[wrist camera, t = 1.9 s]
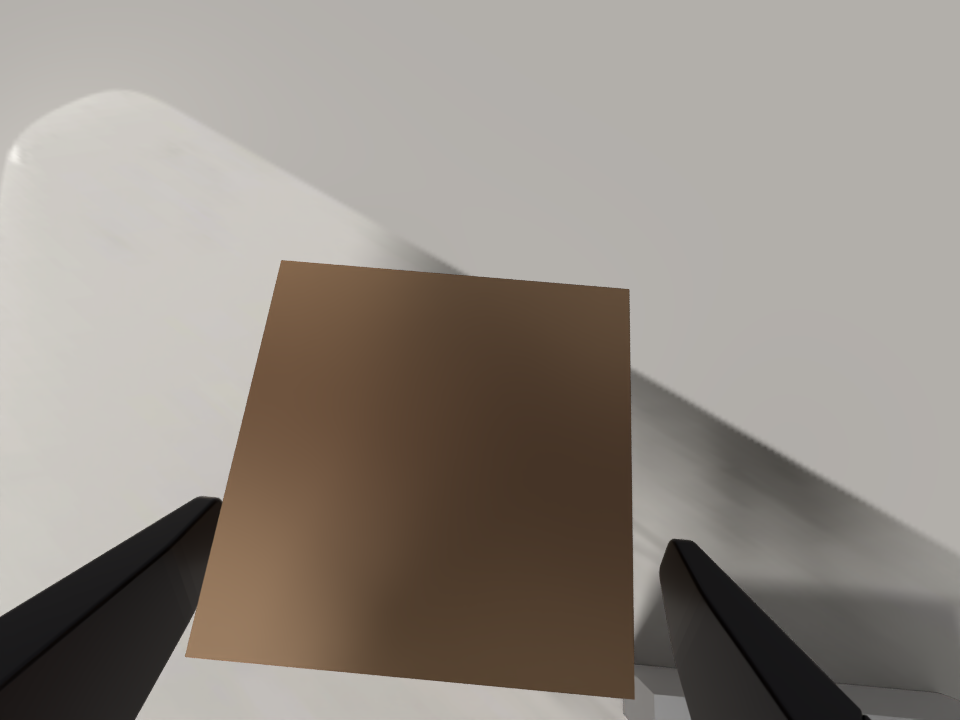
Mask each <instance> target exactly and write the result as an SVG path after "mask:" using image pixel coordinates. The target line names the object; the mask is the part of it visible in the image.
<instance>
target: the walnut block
mask: <svg viewBox="0 0 960 720" xmlns="http://www.w3.org/2000/svg"><path fill="white" fill-rule="evenodd" d="M629 305H630V304H629V289H621V288H609V287H608V288H607V287H597V286H584V285H572V284H560V283H549V282H537V281H525V280H513V279H500V278H489V277H477V276H465V275H452V274H440V273H428V272H416V271H404V270H392V269H380V268H368V267H356V266H344V265H332V264H320V263H308V262H296V261H284V260H281V264H280V268H279V272H278V276H277V280H276V284H275V289H274V293H273V297H272V301H271V305H270V309H269V313H268V317H267V321H266V326H265V330H264V334H263V338H262V342H261V346H260V350H259V354H258V358H257V363H256V367H255V371H254V375H253V379H252V383H251V387H250V391H249V395H248V399H247V404H246V408H245V412H244V416H243V420H242V424H241V428H240V432H239V436H238V441H237V445H236V449H235V453H234V457H233V461H232V465H231V469H230V473H229V478H228V482H227V486H226V490H225V494H224V498H223V502H222V506H221V510H220V515H219V519H218V523H217V527H216V531H215V535H214V539H213V543H212V547H211V552H210V556H209V560H208V564H207V568H206V572H205V576H204V580H203V584H202V588H201V593H200V597H199V601H198V605H197V609H196V613H195V617H194V621H193V625H192V630H191V634H190V638H189V642H188V646H187V650H186V654H185V657H191V658H201V659H212V660H222V661H233V662H243V663H254V664H264V665H275V666H285V667H296V668H306V669H317V670H327V671H338V672H348V673H359V674H369V675H380V676H390V677H401V678H411V679H422V680H433V681H443V682H454V683H464V684H475V685H485V686H496V687H506V688H517V689H527V690H538V691H548V692H559V693H569V694H580V695H590V696H601V697H611V698H622V699H632V700H635V682H634V607H633V531H632V456H631V380H630V312H629V311H630V308H629V307H630V306H629Z"/></svg>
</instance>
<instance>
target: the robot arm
mask: <svg viewBox="0 0 960 720" xmlns="http://www.w3.org/2000/svg"><path fill="white" fill-rule="evenodd" d="M221 506H222V500H221V499H220V498H217V497H206V496H200V497H197V498H195V499H193V500H191V501H190V502H188V503H186V504H185V505H183V506H181V507H180V508H178V509H176V510H175V511H173V512H171V513H170V514H168V515H167V516H165V517H163V518H162V519H160V520H158V521H157V522H155V523H153V524H152V525H150V526H148V527H147V528H145V529H144V530H142V531H140V532H139V533H137V534H135V535H134V536H132V537H130V538H129V539H127V540H125V541H124V542H122V543H121V544H119V545H117V546H116V547H114V548H112V549H111V550H109V551H107V552H106V553H104V554H102V555H101V556H99V557H98V558H96V559H94V560H93V561H91V562H89V563H88V564H86V565H84V566H83V567H81V568H79V569H78V570H76V571H75V572H73V573H71V574H70V575H68V576H66V577H65V578H63V579H61V580H60V581H58V582H56V583H55V584H53V585H52V586H50V587H48V588H47V589H45V590H43V591H42V592H40V593H38V594H37V595H35V596H33V597H32V598H30V599H29V600H27V601H25V602H24V603H22V604H20V605H19V606H17V607H15V608H14V609H12V610H10V611H9V612H7V613H6V614H4V615H2V616H1V617H0V720H135V719H136V717H137V715H138V713H139V712H140V710H141V708H142V706H143V704H144V703H145V701H146V699H147V697H148V695H149V694H150V692H151V690H152V688H153V686H154V685H155V683H156V681H157V679H158V677H159V676H160V674H161V672H162V670H163V668H164V667H165V665H166V663H167V661H168V660H169V658H170V656H171V654H172V652H173V651H174V649H175V647H176V645H177V643H178V642H179V640H180V638H181V636H182V634H183V633H184V631H185V629H186V627H187V625H188V624H189V622H190V620H191V618H192V616H193V614H194V612H195V610H196V608H197V605H198V601H199V597H200V593H201V588H202V584H203V580H204V576H205V572H206V568H207V564H208V560H209V556H210V552H211V547H212V543H213V539H214V535H215V531H216V527H217V523H218V519H219V515H220V510H221ZM659 576H660V583H661V589H662V595H663V600H664V606H665V612H666V617H667V623H668V629H669V634H670V640H671V646H672V651H673V656H674V660H675V664H676V668H677V672H678V675H679V679H680V682H681V686H682V690H683V693H684V697H685V700H686V704H687V707H688V711H689V714H690V718H691V720H871V719H870V718H869V717H868V716H867V715H865V714H863V715H862V710H861V709H860V708H859V707H858V706H857V705H856V704H855V703H854V702H853V701H852V700H851V699H850V698H849V697H848V696H847V695H846V694H845V693H844V692H843V691H842V690H841V689H840V688H839V687H838V686H837V685H836V684H835V683H834V682H833V681H832V680H831V679H830V678H829V677H828V676H827V675H826V674H825V673H824V672H823V671H822V670H821V669H820V668H819V667H818V666H817V665H816V664H815V663H814V662H813V661H812V660H811V659H810V658H809V657H808V656H807V655H806V654H805V653H804V652H803V651H802V650H801V649H800V648H799V647H798V646H797V645H796V644H795V643H794V642H793V641H792V640H791V639H790V638H789V637H788V636H787V635H786V634H785V633H784V632H783V631H782V630H781V629H780V628H779V627H778V626H777V625H776V624H775V623H774V622H773V621H772V620H771V619H770V618H769V617H768V616H767V615H766V614H765V613H764V612H763V611H762V610H761V609H760V608H759V607H758V606H757V605H756V603H755V602H754V601H753V600H752V599H751V598H750V597H749V596H748V595H747V594H746V593H745V592H744V591H743V590H742V589H741V588H740V587H739V586H738V585H737V584H736V583H735V582H734V581H733V580H732V579H731V578H730V577H729V576H728V575H727V574H726V573H725V572H724V571H723V570H722V569H721V568H720V567H719V566H718V565H717V564H716V563H715V562H714V561H713V560H712V559H711V558H710V557H709V556H708V555H707V554H706V553H705V552H704V551H703V550H702V549H701V548H700V547H699V546H698V545H697V544H696V543H694V542H693V541H691V540H683V539H672V540H670V541H669V543H668V546H667V548H666V551H665V554H664V557H663V559H662V562H661V565H660V570H659Z"/></svg>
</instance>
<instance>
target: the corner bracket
mask: <svg viewBox="0 0 960 720" xmlns="http://www.w3.org/2000/svg"><path fill="white" fill-rule="evenodd" d="M634 682H635V700H632V699H623V714H624V715H625V716H626V718H627V719H628V720H691V718H690V714H689V711H688V707H687V704H686V700H685V697H684V693H683V690H682V686H681V682H680V679H679V675H678V672H677V668H668V667H657V666H646V665H636V664H634ZM835 684H836V685H837V686H838V687H839V688H840V689H841V690H842V691H843V692H844V693H845V694H846V695H847V696H848V697H849V698H850V699H851V700H852V701H853V702H854V703H855V704H856V705H857V706H858V707H859V708H860V709H861V710H862V715H863V714H865V715H867V716H868V717H869V718H870V719H871V720H960V701H959V700H956V699H953V698H951V697H948V696H946V695H943V694H940V693H934V692H923V691H913V690H902V689H891V688H881V687H870V686H859V685H849V684H838V683H835Z"/></svg>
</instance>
